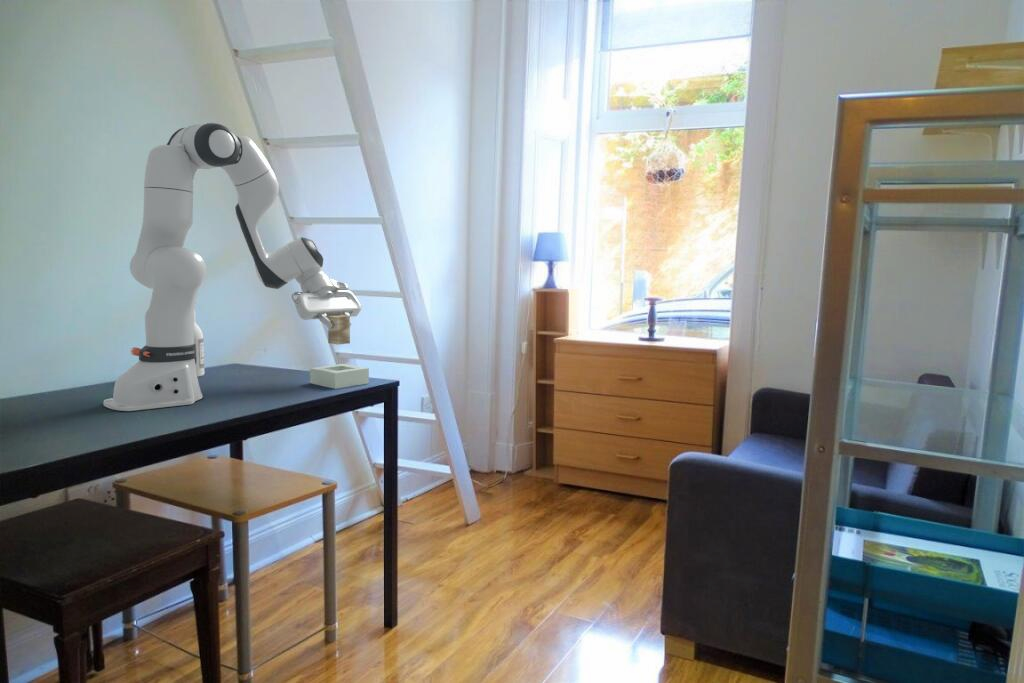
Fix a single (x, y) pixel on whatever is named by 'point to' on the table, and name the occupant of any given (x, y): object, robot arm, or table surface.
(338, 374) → the socket block
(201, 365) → the bath foam
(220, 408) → the table surface
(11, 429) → the table surface
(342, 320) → the birch peg
